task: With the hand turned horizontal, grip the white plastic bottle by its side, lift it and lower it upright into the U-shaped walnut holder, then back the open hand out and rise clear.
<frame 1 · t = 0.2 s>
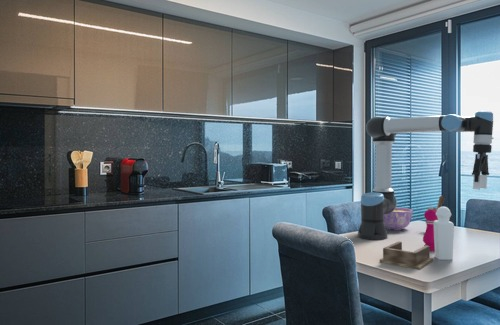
hand: (479, 188, 187), 27 cm above the table, tool pointing down, fingers open, 13 cm apart
bowl of food: (394, 229, 234), on the table
white plastic bottle: (443, 258, 167), on the table
walnut holder: (406, 261, 162), on the table
mortar and pestle: (436, 231, 225), on the table
pepper mill: (431, 249, 182), on the table
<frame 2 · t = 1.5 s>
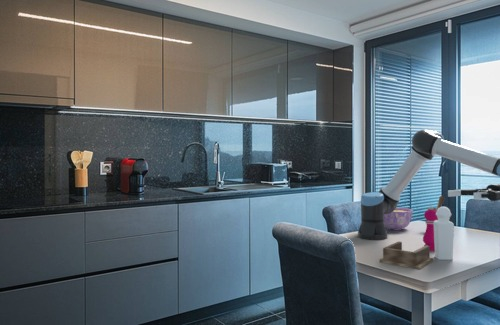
hand: (460, 194, 170), 27 cm above the table, tool horizontal, fingers open, 13 cm apart
nothing on the table moved.
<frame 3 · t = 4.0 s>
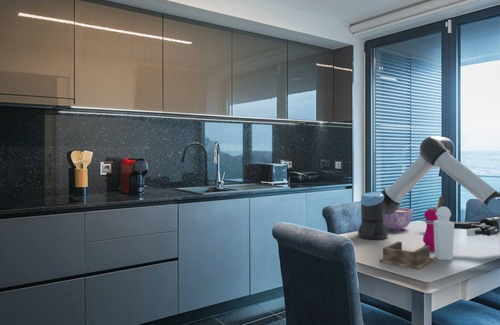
hand: (454, 229, 168), 12 cm above the table, tool horizontal, fingers open, 13 cm apart
nothing on the table moved.
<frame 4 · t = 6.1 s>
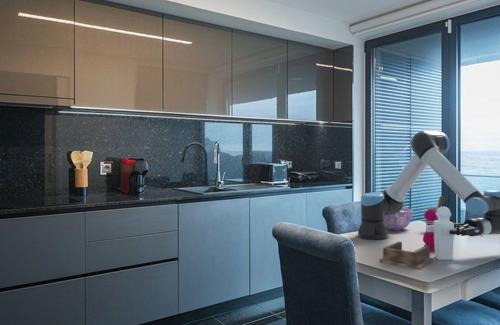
hand: (434, 230, 165), 12 cm above the table, tool horizontal, fingers closed on white plastic bottle, 8 cm apart
white plastic bottle: (443, 258, 167), on the table, touching gripper
everything else where it was.
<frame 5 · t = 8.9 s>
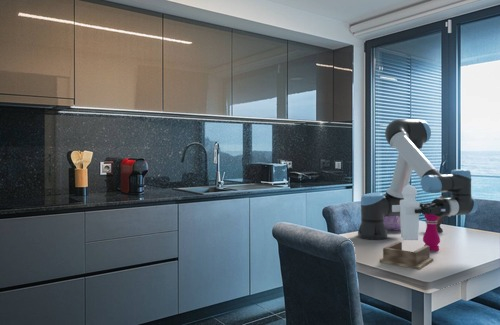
hand: (399, 210, 159), 22 cm above the table, tool horizontal, fingers closed on white plastic bottle, 8 cm apart
white plastic bottle: (409, 239, 161), point 10 cm above the table, touching gripper
everything else where it was.
when the fingers open (14 cm above the table, at t = 11.7 s): white plastic bottle drops 1 cm, resting on walnut holder.
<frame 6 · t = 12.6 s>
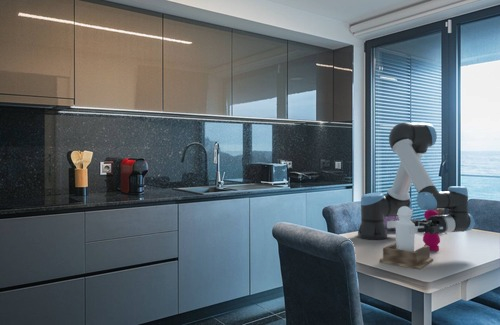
hand: (398, 227, 160), 15 cm above the table, tool horizontal, fingers open, 13 cm apart
white plastic bottle: (405, 260, 161), point 1 cm above the table, touching walnut holder
everything else where it was.
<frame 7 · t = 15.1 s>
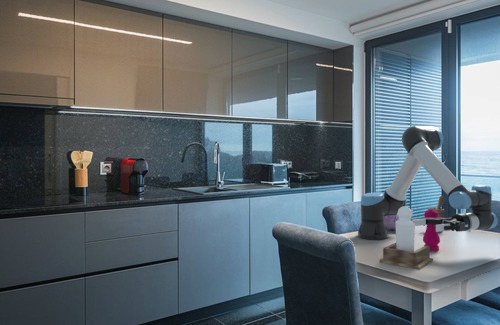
hand: (424, 225, 164), 15 cm above the table, tool horizontal, fingers open, 13 cm apart
nothing on the table moved.
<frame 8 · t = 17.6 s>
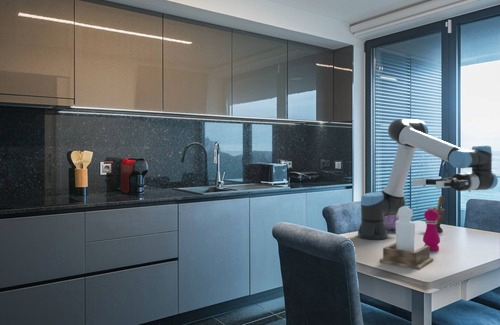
hand: (424, 183, 164), 32 cm above the table, tool horizontal, fingers open, 13 cm apart
nothing on the table moved.
at the end: white plastic bottle inside the target area on the walnut holder (1.0 cm from its centre), point 0.8 cm above the walnut holder's base; white plastic bottle tilted 0°; the gripper is holding nothing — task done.
